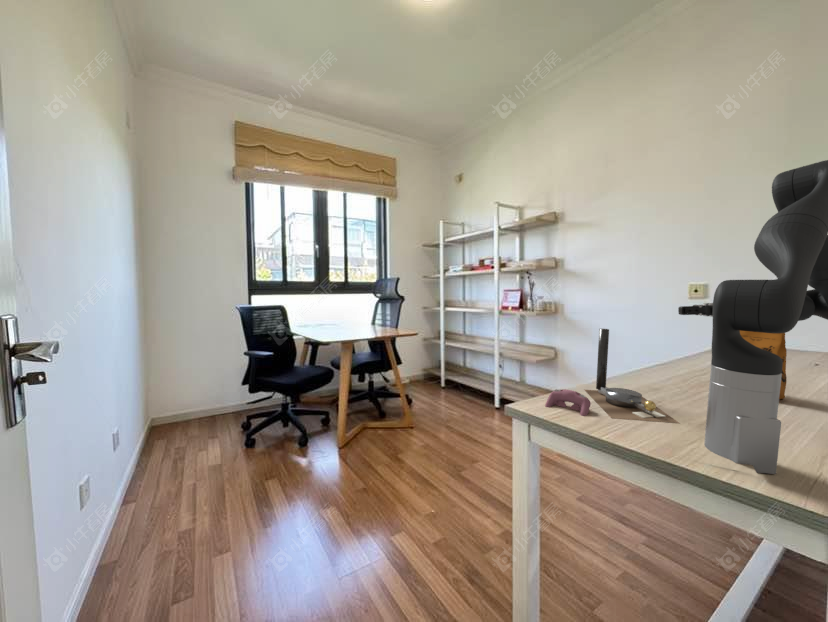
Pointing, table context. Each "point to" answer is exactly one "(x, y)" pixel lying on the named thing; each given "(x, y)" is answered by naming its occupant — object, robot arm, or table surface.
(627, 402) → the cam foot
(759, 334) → the coffee package
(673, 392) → the table surface
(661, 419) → the walnut board
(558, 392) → the video game controller
